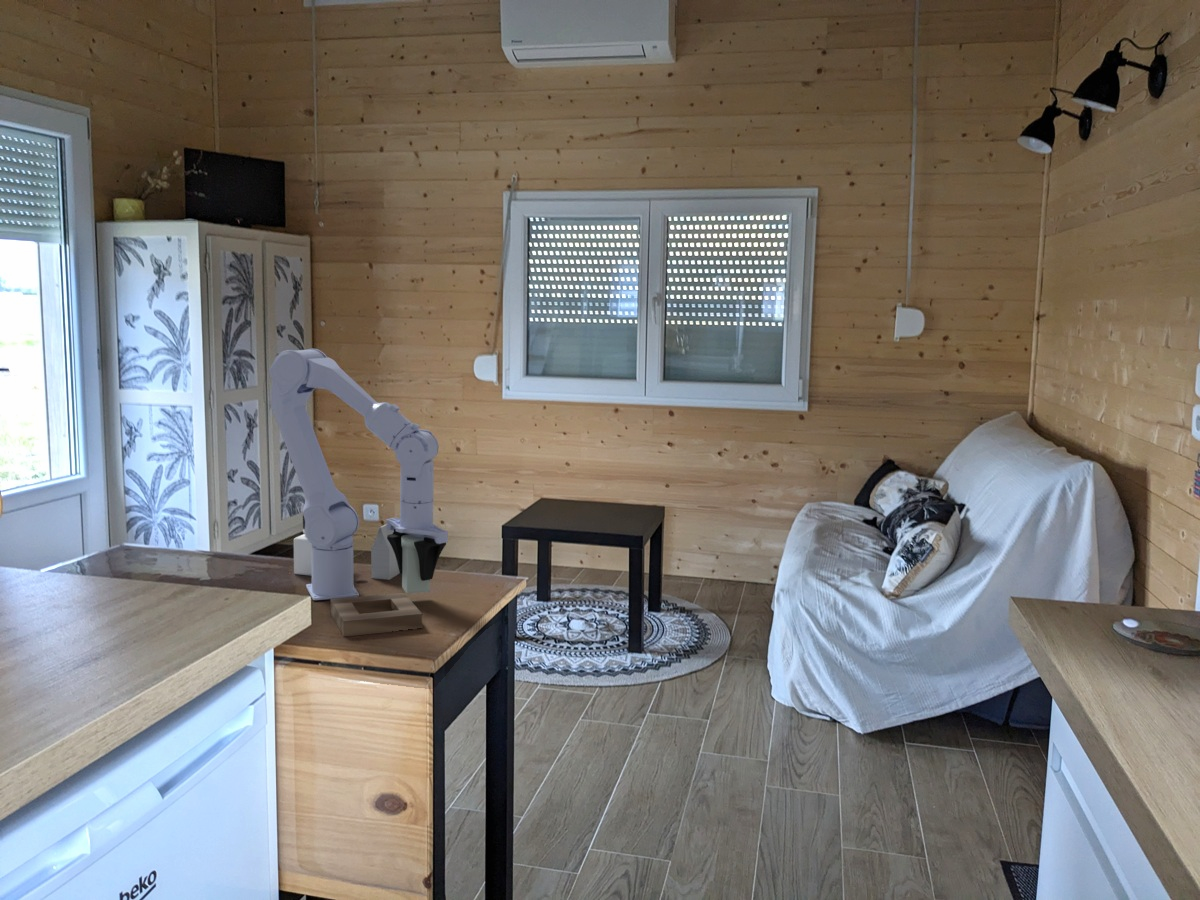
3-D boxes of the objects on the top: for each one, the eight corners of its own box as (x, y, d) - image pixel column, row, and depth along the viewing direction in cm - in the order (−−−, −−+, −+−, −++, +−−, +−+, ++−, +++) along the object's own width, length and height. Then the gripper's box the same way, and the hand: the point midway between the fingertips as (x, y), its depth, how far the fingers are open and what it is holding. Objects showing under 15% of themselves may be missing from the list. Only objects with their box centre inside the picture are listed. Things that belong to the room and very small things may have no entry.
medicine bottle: (327, 577, 189) (327, 515, 187) (293, 574, 190) (292, 513, 189) (344, 568, 196) (344, 508, 194) (311, 565, 197) (310, 506, 196)
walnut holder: (330, 613, 167) (330, 599, 167) (404, 606, 172) (404, 592, 172) (343, 636, 156) (343, 621, 156) (421, 628, 161) (422, 613, 161)
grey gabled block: (403, 571, 196) (403, 521, 194) (389, 579, 189) (389, 528, 188) (385, 569, 196) (385, 519, 195) (371, 578, 190) (371, 526, 188)
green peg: (398, 586, 177) (398, 534, 176) (426, 584, 179) (427, 532, 178) (404, 594, 172) (405, 541, 171) (434, 592, 174) (434, 539, 173)
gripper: (372, 497, 175) (372, 571, 177) (425, 509, 166) (424, 588, 168) (404, 492, 180) (403, 565, 182) (457, 504, 171) (456, 581, 173)
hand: (416, 576), depth 175 cm, fingers closed on green peg, 5 cm apart
